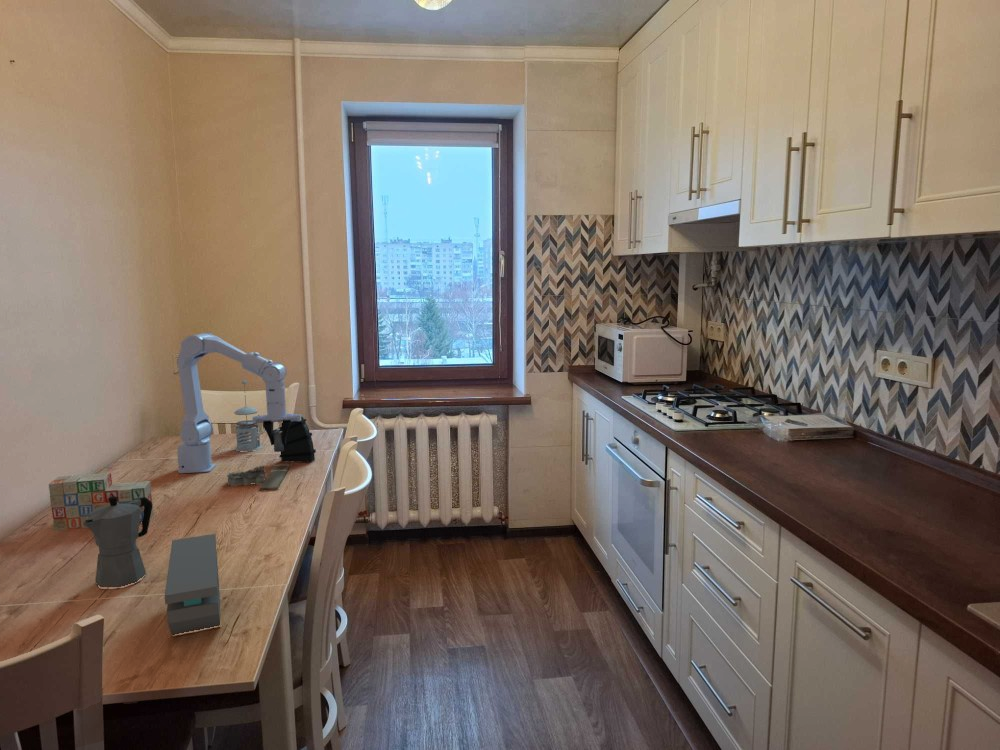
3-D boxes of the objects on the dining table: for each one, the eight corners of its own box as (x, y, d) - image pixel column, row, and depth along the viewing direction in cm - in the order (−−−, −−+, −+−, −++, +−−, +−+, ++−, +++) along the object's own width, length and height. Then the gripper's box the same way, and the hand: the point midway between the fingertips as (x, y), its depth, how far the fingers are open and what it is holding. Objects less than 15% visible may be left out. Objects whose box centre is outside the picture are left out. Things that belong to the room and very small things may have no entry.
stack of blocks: (154, 514, 177) (149, 469, 175) (147, 523, 171) (143, 476, 169) (63, 522, 172) (58, 475, 170) (53, 531, 166) (47, 483, 164)
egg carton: (267, 478, 208) (266, 465, 208) (263, 485, 201) (262, 472, 200) (230, 480, 206) (229, 467, 205) (225, 488, 199) (224, 474, 198)
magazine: (320, 458, 223) (299, 418, 222) (287, 473, 225) (266, 434, 224) (324, 455, 227) (304, 415, 225) (291, 470, 229) (271, 431, 228)
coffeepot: (109, 598, 131) (99, 510, 128) (75, 590, 135) (65, 504, 132) (173, 566, 145) (166, 486, 143) (141, 559, 149) (133, 481, 146)
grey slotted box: (176, 592, 134) (172, 540, 132) (219, 584, 137) (215, 533, 135) (170, 657, 111) (164, 595, 109) (221, 646, 114) (216, 586, 112)
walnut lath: (259, 490, 195) (259, 487, 195) (274, 467, 219) (274, 464, 218) (277, 489, 196) (277, 486, 196) (290, 466, 219) (290, 463, 219)
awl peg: (273, 452, 212) (272, 430, 211) (274, 449, 215) (273, 428, 214) (283, 451, 213) (282, 429, 212) (284, 449, 216) (283, 427, 215)
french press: (243, 444, 248) (238, 377, 244) (272, 445, 246) (268, 378, 242) (228, 451, 238) (223, 382, 234) (259, 452, 237) (255, 382, 233)
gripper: (249, 405, 207) (252, 448, 209) (298, 403, 209) (300, 446, 211) (254, 401, 214) (256, 442, 216) (301, 399, 216) (303, 440, 218)
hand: (278, 443), depth 214 cm, fingers closed on awl peg, 3 cm apart
